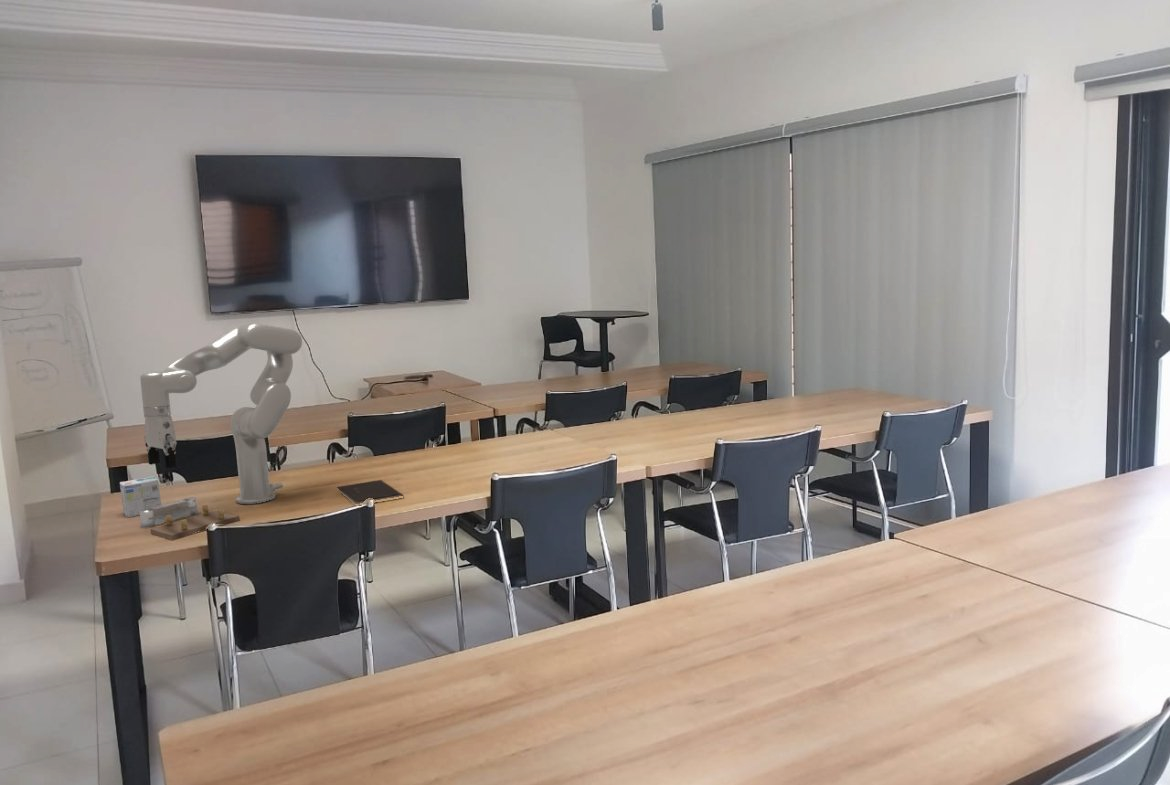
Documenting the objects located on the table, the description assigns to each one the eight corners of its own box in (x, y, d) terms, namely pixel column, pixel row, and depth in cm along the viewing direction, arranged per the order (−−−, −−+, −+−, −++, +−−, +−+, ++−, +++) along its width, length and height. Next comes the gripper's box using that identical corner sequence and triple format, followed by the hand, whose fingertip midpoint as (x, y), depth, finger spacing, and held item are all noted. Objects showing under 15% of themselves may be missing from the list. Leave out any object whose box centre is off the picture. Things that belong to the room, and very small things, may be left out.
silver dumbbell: (193, 511, 287) (191, 496, 287) (200, 513, 285) (198, 498, 284) (138, 526, 273) (136, 510, 272) (145, 528, 271) (143, 512, 270)
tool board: (218, 514, 282) (216, 501, 282) (239, 520, 275) (238, 506, 275) (150, 533, 265) (149, 519, 264) (172, 540, 258) (170, 525, 257)
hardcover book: (355, 508, 285) (355, 501, 285) (337, 493, 305) (337, 486, 305) (403, 500, 293) (403, 493, 293) (382, 485, 313) (382, 479, 312)
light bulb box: (157, 506, 295) (154, 475, 293) (162, 510, 290) (159, 479, 288) (122, 513, 288) (118, 481, 287) (127, 518, 283) (123, 485, 281)
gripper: (183, 411, 271) (188, 466, 274) (154, 407, 282) (159, 460, 284) (159, 415, 265) (165, 471, 268) (130, 411, 276) (136, 464, 278)
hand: (162, 465), depth 276 cm, fingers open, 9 cm apart
